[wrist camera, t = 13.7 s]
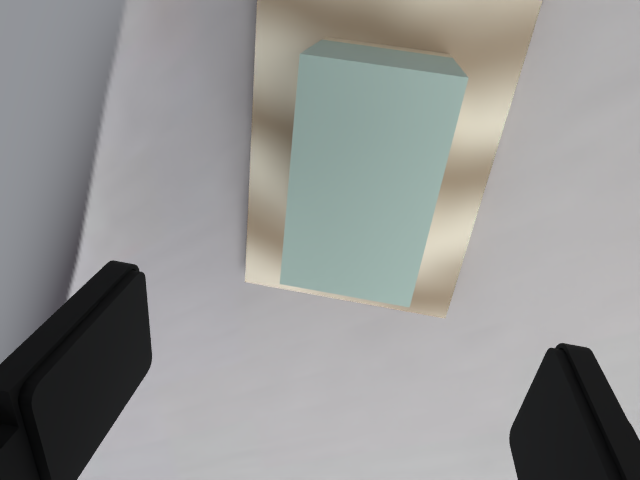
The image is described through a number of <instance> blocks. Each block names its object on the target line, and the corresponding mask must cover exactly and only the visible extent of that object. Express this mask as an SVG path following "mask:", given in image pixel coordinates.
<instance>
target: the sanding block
mask: <svg viewBox="0 0 640 480" xmlns="http://www.w3.org/2000/svg"><path fill="white" fill-rule="evenodd" d="M467 82H468V76H467V75H466V74H465V73H464V71H463V70H462V69H461V68H460V66H459V65H458V64H457V63H456V61H455V60H454V59H453V57H452V56H451V55H450V54H447V53H439V52H432V51H425V50H418V49H411V48H404V47H396V46H389V45H382V44H375V43H368V42H361V41H353V40H346V39H339V38H332V37H325V38H324V39H322V40H320V41H319V42H317V43H316V44H314V45H313V46H311V47H309V48H308V49H306V50H305V51H303V52H302V53H300V57H299V68H298V80H297V91H296V103H295V114H294V126H293V137H292V149H291V160H290V171H289V183H288V194H287V206H286V217H285V229H284V240H283V252H282V263H281V275H280V284H283V285H288V286H294V287H299V288H305V289H310V290H316V291H321V292H327V293H332V294H338V295H343V296H349V297H354V298H360V299H365V300H371V301H376V302H382V303H388V304H393V305H399V306H404V307H410V304H411V300H412V296H413V292H414V288H415V285H416V281H417V277H418V273H419V269H420V265H421V261H422V257H423V253H424V250H425V246H426V242H427V238H428V234H429V230H430V226H431V222H432V218H433V214H434V211H435V207H436V203H437V199H438V195H439V191H440V187H441V183H442V179H443V176H444V172H445V168H446V164H447V160H448V156H449V152H450V148H451V144H452V140H453V137H454V133H455V129H456V125H457V121H458V117H459V113H460V109H461V105H462V101H463V98H464V94H465V90H466V86H467Z"/></svg>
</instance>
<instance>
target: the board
mask: <svg viewBox="0 0 640 480" xmlns="http://www.w3.org/2000/svg"><path fill="white" fill-rule="evenodd" d="M542 1H543V0H257V14H256V37H255V60H254V84H253V107H252V130H251V153H250V176H249V200H248V223H247V246H246V269H245V282H247V283H253V284H258V285H264V286H269V287H275V288H280V289H286V290H291V291H297V292H302V293H308V294H313V295H319V296H324V297H330V298H335V299H341V300H346V301H352V302H357V303H363V304H368V305H374V306H379V307H385V308H390V309H396V310H401V311H407V312H412V313H418V314H423V315H429V316H434V317H440V318H446V314H447V311H448V308H449V305H450V301H451V298H452V295H453V291H454V288H455V285H456V282H457V278H458V275H459V272H460V269H461V265H462V262H463V259H464V256H465V252H466V249H467V246H468V242H469V239H470V236H471V233H472V229H473V226H474V223H475V220H476V216H477V213H478V210H479V207H480V203H481V200H482V197H483V193H484V190H485V187H486V184H487V180H488V177H489V174H490V171H491V167H492V164H493V161H494V157H495V154H496V151H497V148H498V144H499V141H500V138H501V135H502V131H503V128H504V125H505V122H506V118H507V115H508V112H509V108H510V105H511V102H512V99H513V95H514V92H515V89H516V86H517V82H518V79H519V76H520V73H521V69H522V66H523V63H524V59H525V56H526V53H527V50H528V46H529V43H530V40H531V37H532V33H533V30H534V27H535V24H536V20H537V17H538V14H539V10H540V7H541V4H542ZM325 37H332V38H339V39H346V40H353V41H361V42H368V43H375V44H382V45H389V46H396V47H404V48H411V49H418V50H425V51H432V52H439V53H447V54H450V55H451V56H452V57H453V59H454V60H455V61H456V63H457V64H458V65H459V66H460V68H461V69H462V70H463V71H464V73H465V74H466V75H467V76H468V82H467V86H466V90H465V94H464V98H463V101H462V105H461V109H460V113H459V117H458V121H457V125H456V129H455V133H454V137H453V140H452V144H451V148H450V152H449V156H448V160H447V164H446V168H445V172H444V176H443V179H442V183H441V187H440V191H439V195H438V199H437V203H436V207H435V211H434V214H433V218H432V222H431V226H430V230H429V234H428V238H427V242H426V246H425V250H424V253H423V257H422V261H421V265H420V269H419V273H418V277H417V281H416V285H415V288H414V292H413V296H412V300H411V304H410V307H404V306H399V305H393V304H388V303H382V302H376V301H371V300H365V299H360V298H354V297H349V296H343V295H338V294H332V293H327V292H321V291H316V290H310V289H305V288H299V287H294V286H288V285H283V284H280V275H281V263H282V252H283V240H284V229H285V217H286V206H287V194H288V183H289V171H290V160H291V149H292V137H293V126H294V114H295V103H296V91H297V80H298V68H299V57H300V53H302V52H303V51H305V50H306V49H308V48H309V47H311V46H313V45H314V44H316V43H317V42H319V41H320V40H322V39H324V38H325Z"/></svg>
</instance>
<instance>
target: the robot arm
mask: <svg viewBox="0 0 640 480" xmlns="http://www.w3.org/2000/svg"><path fill="white" fill-rule="evenodd" d="M151 361H152V350H151V338H150V326H149V315H148V303H147V291H146V280H145V275H144V273H143V272H139V268H138V266H137V265H135V264H129V263H124V262H118V261H110V262H108V263H107V264H106V265H105V266H104V267H103V268H102V269H101V270H100V271H99V272H97V273H96V274H95V275H94V276H93V277H92V278H91V279H90V280H89V281H88V282H87V283H86V284H85V285H84V286H83V287H82V288H81V289H79V290H78V291H77V292H76V293H75V294H74V295H73V296H72V297H71V298H70V299H69V300H68V301H67V302H66V303H65V304H64V305H62V307H60V309H58V310H57V311H56V312H55V313H54V314H53V315H52V316H51V317H50V318H49V319H48V320H47V321H46V322H44V324H42V326H40V327H39V328H38V329H37V330H36V331H35V332H34V333H33V334H32V335H31V336H30V337H29V338H28V339H27V340H25V341H24V342H23V343H22V344H21V345H20V346H19V347H18V348H17V349H16V350H15V351H14V352H13V353H12V354H11V355H9V356H8V357H7V358H6V359H5V360H4V361H3V362H2V363H1V364H0V480H77V479H78V477H79V476H80V474H81V473H82V471H83V470H84V468H85V467H86V465H87V463H88V462H89V460H90V459H91V457H92V456H93V454H94V453H95V451H96V450H97V448H98V447H99V445H100V444H101V442H102V441H103V439H104V438H105V436H106V435H107V433H108V432H109V430H110V428H111V427H112V425H113V424H114V422H115V421H116V419H117V418H118V416H119V415H120V413H121V412H122V410H123V409H124V407H125V406H126V404H127V403H128V401H129V400H130V398H131V397H132V395H133V393H134V392H135V390H136V389H137V387H138V386H139V384H140V383H141V381H142V380H143V378H144V377H145V375H146V374H147V372H148V370H149V368H150V365H151ZM509 440H510V448H511V452H512V456H513V460H514V465H515V469H516V473H517V477H518V480H640V440H639V438H638V436H637V435H636V433H635V431H634V429H633V427H632V426H631V424H630V423H629V421H628V420H627V418H626V416H625V414H624V412H623V410H622V408H621V406H620V404H619V402H618V400H617V398H616V396H615V395H614V393H613V391H612V389H611V387H610V385H609V383H608V381H607V379H606V377H605V375H604V373H603V372H602V370H601V368H600V366H599V364H598V362H597V360H596V358H595V356H594V354H593V352H592V351H591V350H590V349H589V348H586V347H581V346H575V345H570V344H565V343H560V344H558V345H557V346H556V348H549V349H548V350H547V352H546V354H545V356H544V358H543V360H542V363H541V365H540V367H539V369H538V371H537V373H536V375H535V378H534V380H533V382H532V384H531V386H530V388H529V391H528V393H527V395H526V397H525V399H524V401H523V403H522V406H521V408H520V410H519V412H518V414H517V416H516V419H515V421H514V423H513V425H512V427H511V430H510V437H509Z"/></svg>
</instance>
